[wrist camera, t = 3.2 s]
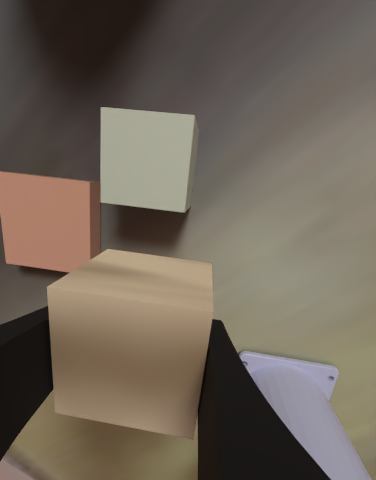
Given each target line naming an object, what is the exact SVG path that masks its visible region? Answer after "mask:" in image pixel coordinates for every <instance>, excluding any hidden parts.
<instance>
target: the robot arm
mask: <svg viewBox="0 0 376 480" xmlns="http://www.w3.org/2000/svg"><path fill="white" fill-rule="evenodd" d="M243 361H245V363H243ZM338 374H339V372H338V370H337V369H336V367H335V366H332V365H327V364H321V363H315V362H309V361H303V360H297V359H291V358H285V357H279V356H273V355H266V354H260V353H254V352H248V351H242V352H241V353H240V354H239V355H238V353H237V351H236V349H235V347H234V346H233V344H232V342H231V340H230V338H229V336H228V333H227V331H226V329H225V327H224V324H223V323H222V321H221V320H215V319H212V324H211V330H210V337H209V343H208V349H207V356H206V362H205V368H204V374H203V381H202V387H201V393H200V399H199V406H198V480H372V479H371V477H370V476H369V474H368V472H367V470H366V468H365V467H364V465H363V463H362V461H361V459H360V457H359V456H358V454H357V452H356V450H355V448H354V446H353V445H352V443H351V441H350V439H349V437H348V435H347V434H346V432H345V430H344V428H343V426H342V424H341V423H340V421H339V419H338V417H337V415H336V414H335V412H334V410H333V408H332V406H331V404H330V403H329V400H330V397H331V394H332V391H333V388H334V386H335V383H336V380H337V377H338ZM329 376H330V377H329ZM53 389H54V388H53V373H52V357H51V342H50V326H49V311H48V306H47V307H44V308H42V309H39V310H37V311H35V312H32V313H30V314H27V315H25V316H22V317H20V318H17V319H15V320H12V321H9V322H7V323H4V324H1V325H0V461H1V459H2V458H3V456H4V455H5V453H6V452H7V450H8V449H9V447H10V446H11V444H12V443H13V441H14V440H15V438H16V437H17V436H18V434H19V433H20V432H21V430H22V429H23V427H24V426H25V425H26V423H27V422H28V421H29V419H30V418H31V417H32V416H33V414H34V413H35V412H36V410H37V409H38V408H39V407H40V405H41V404H42V403H43V401H44V400H45V399H46V398H47V396H48V395H49V394H50V392H51V391H52V390H53Z"/></svg>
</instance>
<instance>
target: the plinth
mask: <svg viewBox="0 0 376 480" xmlns="http://www.w3.org/2000/svg"><path fill="white" fill-rule="evenodd" d="M0 214H1V223H2V231H3V240H4V248H5V257H6V263H9V264H15V265H22V266H29V267H36V268H42V269H49V270H56V271H63V272H69V273H70V272H72V271H73V270H75V269H77V268H78V267H80V266H81V265H83V264H85V263H86V262H88V261H89V260H91V259H93V258H94V257H96V256H97V255H99V254H100V182H94V181H85V180H76V179H68V178H59V177H50V176H41V175H32V174H24V173H15V172H1V171H0Z"/></svg>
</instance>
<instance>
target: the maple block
mask: <svg viewBox="0 0 376 480" xmlns="http://www.w3.org/2000/svg"><path fill="white" fill-rule="evenodd" d="M47 295H48V311H49V326H50V342H51V357H52V373H53V388H54V404H55V413H57V414H63V415H68V416H73V417H78V418H84V419H89V420H94V421H99V422H104V423H110V424H115V425H120V426H125V427H130V428H136V429H141V430H146V431H151V432H156V433H162V434H167V435H172V436H177V437H183V438H188V439H193V437H194V431H195V425H196V418H197V412H198V406H199V399H200V393H201V387H202V381H203V374H204V368H205V362H206V356H207V349H208V343H209V337H210V330H211V324H212V318H213V286H212V263H207V262H199V261H192V260H185V259H177V258H170V257H163V256H156V255H148V254H141V253H134V252H126V251H119V250H112V249H107V250H105V251H104V252H102V253H101V254H99V255H97V256H96V257H94V258H93V259H91V260H89V261H88V262H86V263H85V264H83V265H81V266H80V267H78V268H77V269H75V270H73V271H72V272H70V273H69V274H67V275H65V276H64V277H62V278H61V279H59V280H57V281H56V282H54V283H53V284H51V285H49V286H48V287H47Z"/></svg>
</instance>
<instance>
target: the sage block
mask: <svg viewBox="0 0 376 480" xmlns="http://www.w3.org/2000/svg"><path fill="white" fill-rule="evenodd" d="M198 138H199V131H198V127H197V123H196V118H195V115H186V114H175V113H163V112H152V111H141V110H129V109H118V108H107V107H101V202H102V203H110V204H118V205H126V206H135V207H143V208H151V209H159V210H167V211H175V212H183V213H185V212H186V211H187V210H188V209H189V208H190V207H191V201H192V192H193V183H194V174H195V165H196V156H197V147H198Z"/></svg>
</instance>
